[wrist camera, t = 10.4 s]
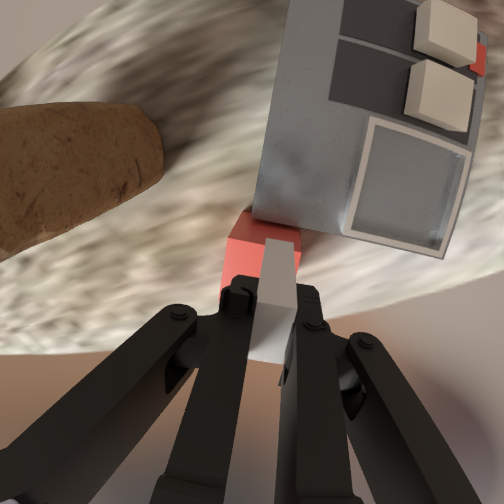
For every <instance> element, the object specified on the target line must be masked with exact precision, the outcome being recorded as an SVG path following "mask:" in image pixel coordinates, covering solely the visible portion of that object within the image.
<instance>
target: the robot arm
mask: <svg viewBox="0 0 504 504" xmlns="http://www.w3.org/2000/svg"><path fill="white" fill-rule="evenodd" d="M320 304H321V302H320V297H319V292H318V291H317V290H316V288H315V287H314V286H310V285H304V284H298V283H296V272H295V256H294V243H293V242H287V241H281V240H275V239H269V238H266V242H265V248H264V254H263V260H262V266H261V271H260V277H259V278H257V277H251V276H246V275H240V274H238V275H236V276H235V277H234V278H232V280H231V283H230V285H228V286H226V287H224V288H223V289H222V290H221V294H220V303H219V311H218V312H217V313H215V314H212V315H206V316H197V312H196V311H195V310H194V308H192V307H190V306H188V305H184V304H172V305H168V306H166V307H164V308H163V309H162V310H161V311H159V312H158V313H157V314H156V315H155V316H154V317H152V318H151V319H150V320H149V321H148V322H147V323H146V324H144V325H143V326H142V327H141V328H140V329H139V330H138V331H136V332H135V333H134V334H133V335H132V336H131V337H129V338H128V339H127V340H126V341H125V342H124V343H123V344H121V345H120V346H119V347H118V348H117V349H116V350H115V351H114V352H112V353H111V354H110V355H109V356H108V357H107V358H106V359H104V361H102V362H101V363H100V364H99V365H98V366H97V367H95V368H94V369H93V370H92V371H91V372H90V373H89V374H88V375H86V376H85V377H84V378H83V379H82V380H81V381H80V382H78V383H77V384H76V385H75V386H74V387H73V388H72V389H71V390H70V391H68V392H67V393H66V394H65V395H64V396H63V397H62V398H61V399H60V400H59V401H57V402H56V403H55V404H54V405H53V406H52V407H51V408H49V410H47V411H46V412H45V413H44V414H43V415H42V416H41V417H40V418H38V419H37V420H36V421H35V422H34V423H33V424H32V425H31V426H30V427H28V428H27V430H25V431H24V432H23V433H22V434H21V435H20V436H19V437H18V438H16V439H15V440H14V441H13V442H12V443H11V444H10V445H9V446H8V447H7V448H5V449H2V450H0V504H88V503H89V502H90V501H91V500H92V498H93V497H94V496H95V495H96V493H97V492H98V491H99V490H100V489H101V487H102V486H103V485H104V484H105V483H106V481H107V480H108V479H109V478H110V477H111V475H112V474H113V473H114V472H115V470H116V469H117V468H118V467H119V466H120V464H121V463H122V462H123V461H124V459H125V458H126V457H127V456H128V454H129V453H130V452H131V451H132V449H133V448H134V447H135V445H136V444H137V443H138V442H139V441H140V440H141V438H142V437H143V436H144V434H145V433H146V432H147V431H148V429H149V428H150V427H151V425H152V424H153V423H154V422H155V421H156V419H157V418H158V417H159V416H160V414H161V413H162V412H163V410H164V409H165V408H166V406H167V405H168V404H169V403H170V402H171V400H172V399H173V398H174V396H175V395H176V394H177V392H178V391H179V390H180V389H181V387H182V386H183V385H184V383H185V382H186V381H187V380H188V378H189V377H190V376H191V374H192V373H193V371H194V369H195V368H199V370H198V373H197V376H196V379H195V382H194V385H193V388H192V391H191V394H190V397H189V400H188V403H187V406H186V409H185V412H184V415H183V418H182V421H181V424H180V428H179V431H178V434H177V437H176V440H175V443H174V446H173V449H172V452H171V455H170V458H169V461H168V464H167V467H166V470H165V472H164V474H162V475H160V477H159V478H158V480H157V482H156V485H155V488H154V491H153V494H152V497H151V500H150V503H149V504H223V501H224V496H225V490H226V482H227V477H228V471H229V464H230V459H231V453H232V448H233V442H234V437H235V430H236V425H237V419H238V413H239V407H240V400H241V395H242V389H243V383H244V377H245V371H246V365H247V359H252V360H258V361H265V362H271V363H278V364H283V361H284V357H285V364H284V367H283V371H282V374H281V377H280V381H279V384H278V386H281V403H280V422H279V439H278V455H277V470H276V484H275V497H274V504H364V502H363V501H362V499H361V498H360V497H357V496H355V495H354V493H353V490H352V481H351V470H350V460H349V451H348V443H347V435H348V437H349V440H350V442H351V444H352V447H353V449H354V452H355V454H356V456H357V459H358V461H359V464H360V466H361V469H362V471H363V474H364V476H365V478H366V481H367V483H368V486H369V488H370V491H371V493H372V495H373V498H374V501H375V503H376V504H482V503H481V501H480V499H479V498H478V496H477V494H476V492H475V491H474V489H473V487H472V485H471V483H470V482H469V480H468V478H467V476H466V475H465V473H464V471H463V469H462V468H461V466H460V464H459V463H458V461H457V459H456V458H455V456H454V454H453V453H452V451H451V449H450V448H449V446H448V444H447V443H446V441H445V439H444V438H443V436H442V435H441V433H440V431H439V430H438V428H437V427H436V425H435V423H434V422H433V420H432V418H431V417H430V415H429V414H428V412H427V411H426V409H425V407H424V406H423V404H422V403H421V401H420V400H419V398H418V397H417V395H416V394H415V392H414V390H413V389H412V387H411V386H410V385H409V383H408V382H407V380H406V378H405V377H404V375H403V374H402V372H401V371H400V369H399V368H398V367H397V365H396V363H395V362H394V360H393V359H392V358H391V356H390V355H389V353H388V352H387V350H386V349H385V347H384V346H383V344H382V343H381V342H380V341H379V340H378V339H377V338H376V337H375V336H373V335H371V334H368V333H365V332H357V333H353V334H352V335H350V338H349V339H346V338H342V337H340V336H337V335H335V334H333V333H332V332H331V329H330V326H329V324H328V323H327V322H326V321H325V320H323V314H322V308H321V305H320ZM346 433H347V434H346Z"/></svg>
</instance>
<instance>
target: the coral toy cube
mask: <svg viewBox="0 0 504 504" xmlns="http://www.w3.org/2000/svg"><path fill="white" fill-rule="evenodd" d="M266 238H269V239H275V240H281V241H287V242H293V243H294V256H295V272H296V274H297V270H298V266H299V262H300V258H301V254H302V250H301V238H300V227H296V226H291V225H286V224H281V223H276V222H271V221H266V220H261V219H256V218H251V213H249V212H244V211H242V213H241V215H240V217H239V219H238V220H237V222H236V224H235V226H234V227H233V229H232V231H231V233H230V235H229V236H228V239H227V246H226V253H225V260H224V267H223V274H222V281H221V288H220V294H221V290H222V289H223V288H224V287H226V286H228V285H230V283H231V280H232V278H234V277H235V276H236V275H238V274H240V275H246V276H251V277H257V278H259V277H260V271H261V266H262V260H263V254H264V248H265V242H266ZM219 301H220V295H219Z"/></svg>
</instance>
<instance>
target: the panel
mask: <svg viewBox="0 0 504 504" xmlns="http://www.w3.org/2000/svg"><path fill="white" fill-rule="evenodd" d="M421 4H422V3H420V2H418V1H415V0H290V3H289V8H288V13H287V19H286V24H285V29H284V35H283V40H282V46H281V51H280V56H279V62H278V67H277V73H276V78H275V84H274V89H273V95H272V100H271V106H270V111H269V117H268V122H267V128H266V134H265V139H264V145H263V150H262V156H261V162H260V167H259V173H258V179H257V184H256V190H255V196H254V201H253V207H252V213H251V218H256V219H261V220H266V221H271V222H276V223H281V224H286V225H291V226H296V227H301V228H305V229H310V230H315V231H320V232H324V233H329V234H334V235H338V236H343V237H347V238H352V239H357V240H361V241H365V242H370V243H374V244H379V245H383V246H387V247H392V248H396V249H400V250H405V251H409V252H413V253H417V254H421V255H425V256H430V257H434V258H438V259H442V260H443V259H444V256H445V254H446V251H447V248H448V245H449V242H450V239H451V237H452V234H453V230H454V227H455V224H456V221H457V218H458V215H459V211H460V208H461V204H462V201H463V197H464V194H465V190H466V186H467V182H468V178H469V174H470V170H471V166H472V161H473V157H474V152H475V147H476V142H477V137H478V131H479V125H480V119H481V112H482V105H483V98H484V89H485V79H486V67H487V48H488V36H487V35H486V34H484V33H482V32H481V31H479V30H477V51H476V63H473V64H469V65H465V66H462V67H458V68H456V67H454V66H452V65H450V64H448V63H446V62H443V61H441V60H439V59H437V58H434V57H432V56H429V55H427V54H425V53H422V52H420V51H417V50H414V49H413V48H414V38H415V28H416V16H417V8H418V7H419V6H420V5H421ZM426 59H428V60H430V61H433V62H435V63H438V64H440V65H442V66H444V67H447V68H449V69H451V70H453V71H455V72H457V73H459V74H462V75H464V76H466V77H468V78H470V79H472V80H474V87H473V95H472V102H471V109H470V116H469V122H468V128H467V132H460V131H448V130H446V129H443V128H441V127H438V126H436V125H433V124H430V123H428V122H425V121H422V120H420V119H417V118H414V117H411V116H408V115H405V114H404V110H405V104H406V98H407V92H408V85H409V79H410V72H411V66H412V65H414V64H417V63H419V62H421V61H423V60H426Z"/></svg>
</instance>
